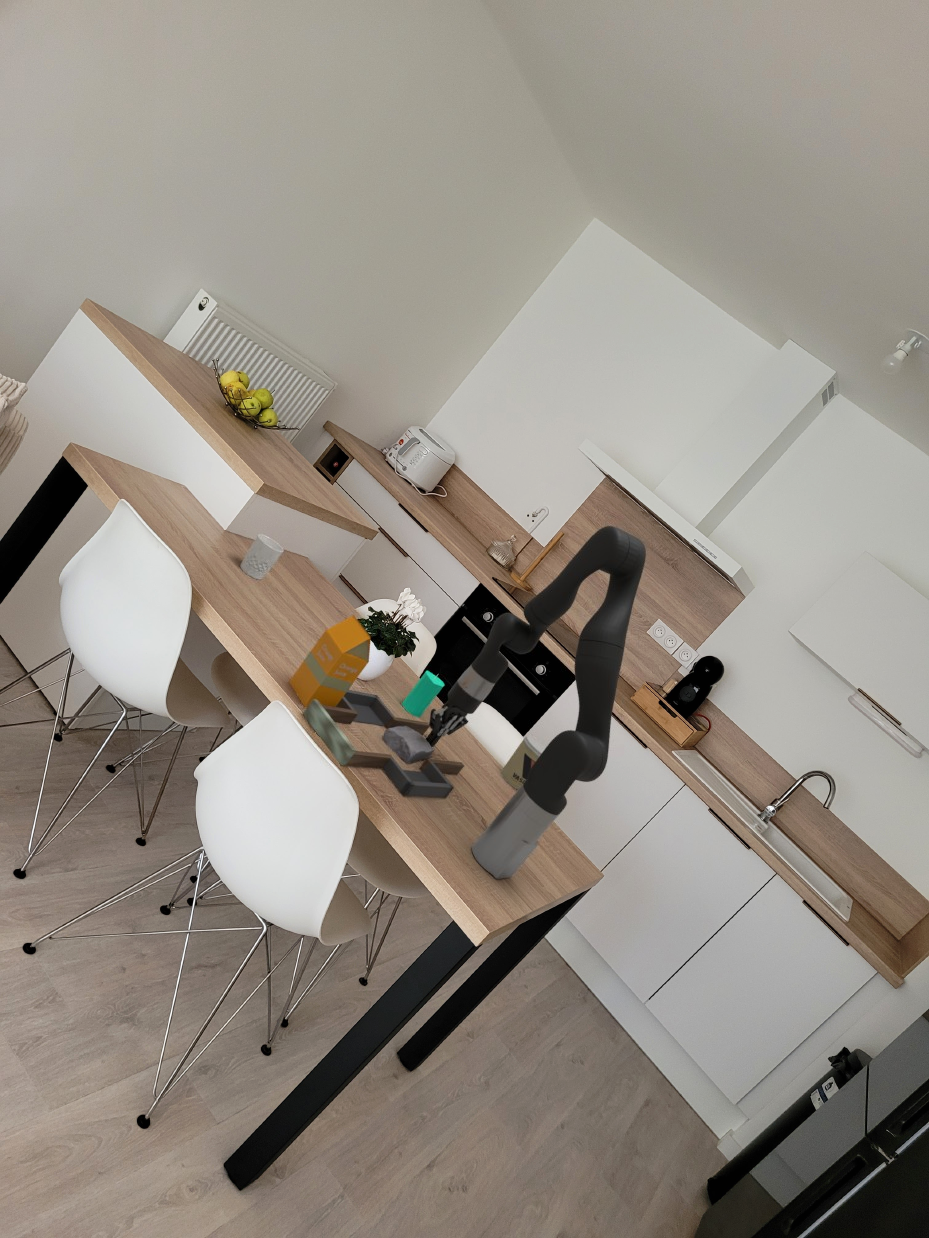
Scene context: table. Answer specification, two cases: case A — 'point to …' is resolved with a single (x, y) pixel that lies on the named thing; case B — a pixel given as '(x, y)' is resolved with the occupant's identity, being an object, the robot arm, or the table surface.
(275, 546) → the white cup
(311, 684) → the orange juice
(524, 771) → the beige canister
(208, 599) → the table surface
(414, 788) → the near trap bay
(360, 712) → the tray
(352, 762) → the corridor
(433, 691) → the candle
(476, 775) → the table surface
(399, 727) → the stone block
